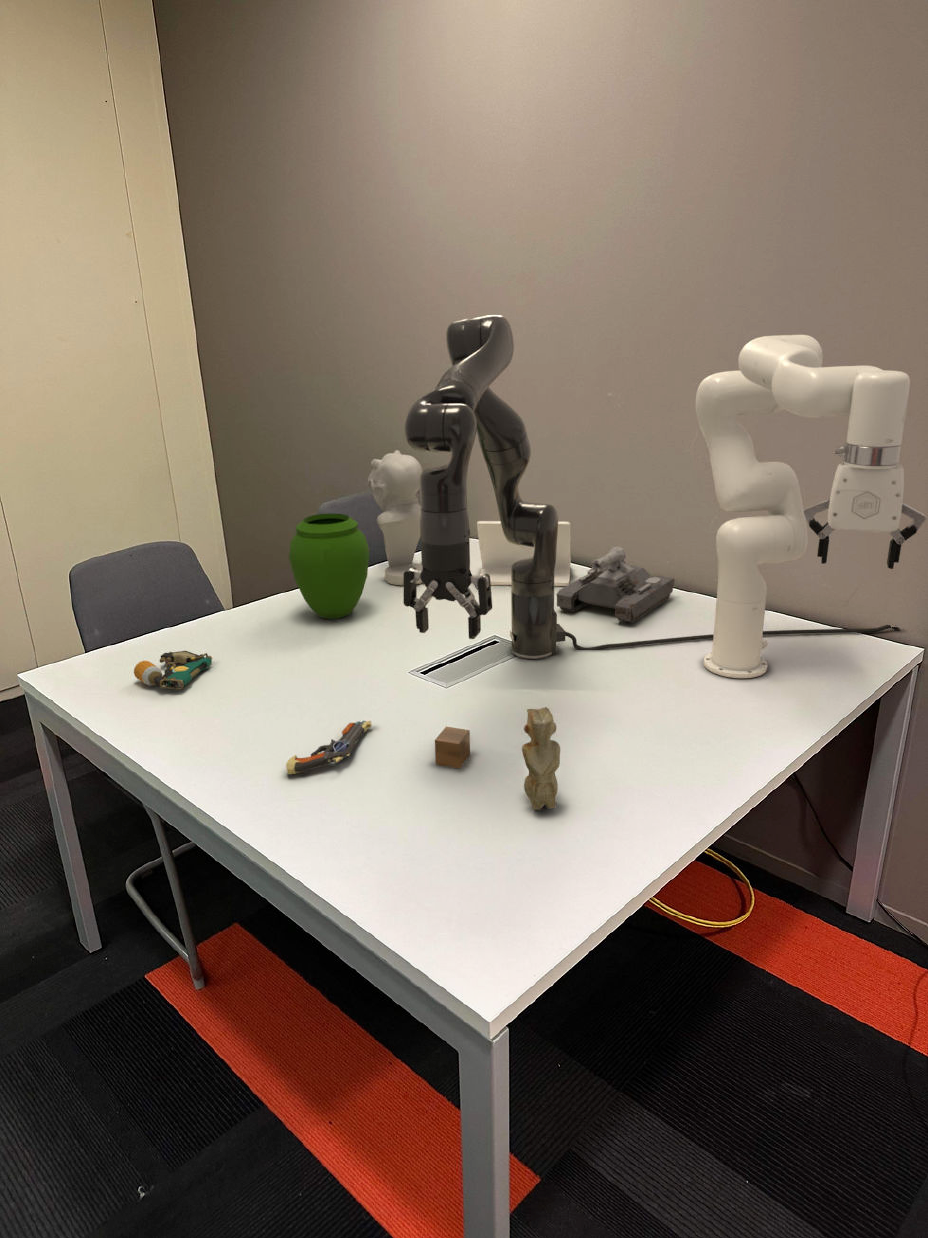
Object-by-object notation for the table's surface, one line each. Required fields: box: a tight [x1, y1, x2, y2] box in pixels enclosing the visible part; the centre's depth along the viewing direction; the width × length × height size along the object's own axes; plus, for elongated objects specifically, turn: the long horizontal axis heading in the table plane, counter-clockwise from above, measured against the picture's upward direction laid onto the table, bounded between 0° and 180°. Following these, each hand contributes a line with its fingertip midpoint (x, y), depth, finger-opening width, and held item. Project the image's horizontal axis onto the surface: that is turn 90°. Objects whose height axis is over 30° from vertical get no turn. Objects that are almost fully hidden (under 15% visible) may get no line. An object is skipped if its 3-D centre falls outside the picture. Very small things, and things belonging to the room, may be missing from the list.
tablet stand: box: [476, 520, 572, 587], centre depth 236 cm, size 18×25×17 cm
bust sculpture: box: [366, 449, 424, 586], centre depth 237 cm, size 16×24×35 cm
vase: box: [288, 512, 370, 620], centre depth 209 cm, size 20×20×24 cm
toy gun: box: [285, 720, 373, 775], centre depth 148 cm, size 3×19×10 cm
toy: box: [556, 546, 676, 624], centre depth 212 cm, size 25×20×15 cm
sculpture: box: [521, 706, 561, 811], centre depth 129 cm, size 6×7×15 cm
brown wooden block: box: [434, 726, 471, 770], centre depth 144 cm, size 5×4×5 cm
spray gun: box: [133, 650, 213, 690], centre depth 180 cm, size 4×17×15 cm
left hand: (448, 634), depth 137 cm, fingers open, 8 cm apart
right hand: (856, 563), depth 135 cm, fingers open, 9 cm apart
